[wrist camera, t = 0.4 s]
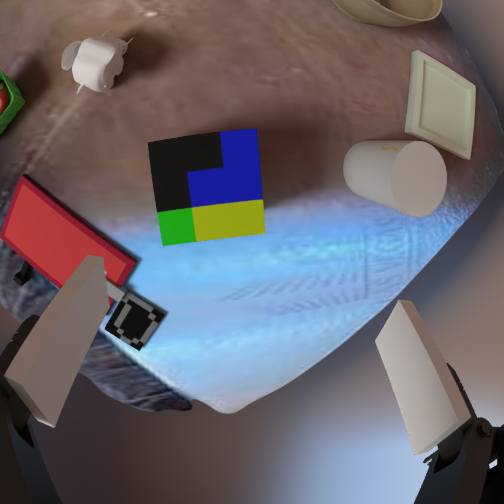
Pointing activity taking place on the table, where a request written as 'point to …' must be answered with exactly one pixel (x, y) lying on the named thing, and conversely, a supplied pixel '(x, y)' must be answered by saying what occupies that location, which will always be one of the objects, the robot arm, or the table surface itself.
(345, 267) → the table surface
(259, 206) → the puzzle toy
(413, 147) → the white cylinder
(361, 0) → the planter bowl
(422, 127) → the tray
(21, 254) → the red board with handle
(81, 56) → the elephant figurine
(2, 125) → the fruit basket
